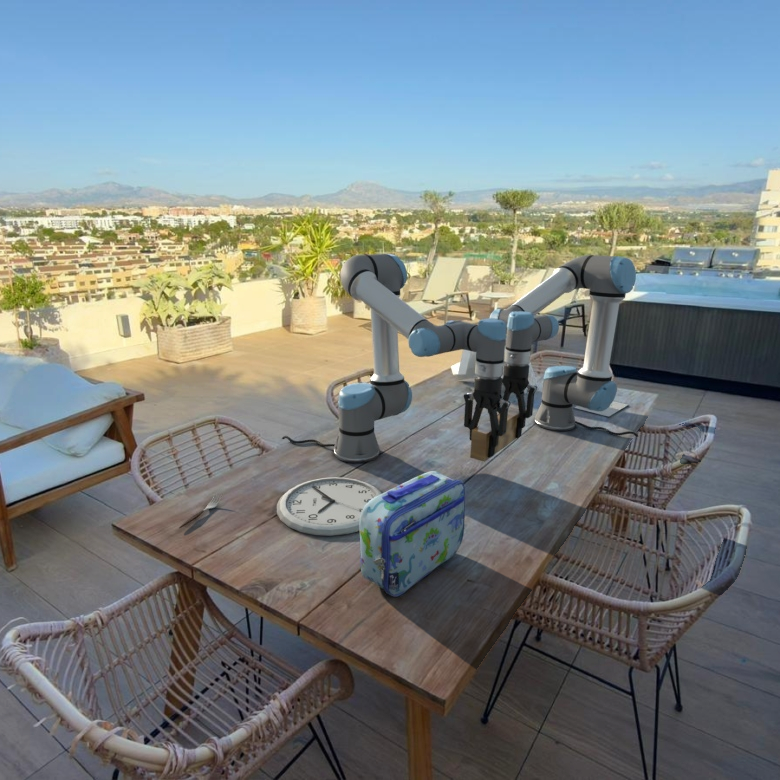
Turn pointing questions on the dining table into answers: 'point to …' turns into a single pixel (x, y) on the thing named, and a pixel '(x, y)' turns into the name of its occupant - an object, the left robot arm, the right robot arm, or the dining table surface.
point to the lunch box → (411, 531)
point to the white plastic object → (468, 364)
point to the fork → (209, 506)
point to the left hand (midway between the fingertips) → (482, 453)
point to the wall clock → (326, 505)
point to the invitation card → (609, 411)
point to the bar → (484, 431)
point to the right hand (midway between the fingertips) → (510, 434)
